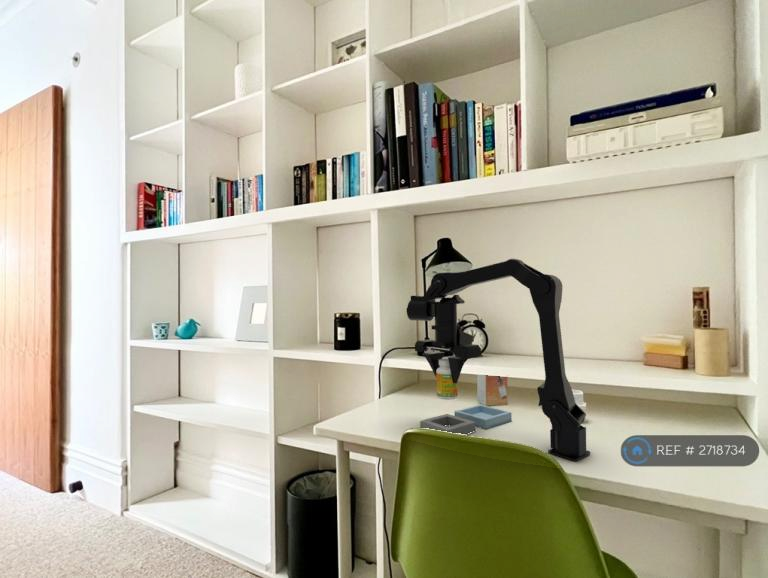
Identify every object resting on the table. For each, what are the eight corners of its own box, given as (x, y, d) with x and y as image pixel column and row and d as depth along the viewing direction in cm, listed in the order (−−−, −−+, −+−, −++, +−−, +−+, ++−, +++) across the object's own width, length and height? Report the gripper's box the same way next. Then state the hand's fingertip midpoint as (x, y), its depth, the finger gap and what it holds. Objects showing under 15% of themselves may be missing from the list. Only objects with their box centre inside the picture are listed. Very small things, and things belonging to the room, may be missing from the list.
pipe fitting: (559, 422, 117) (559, 393, 117) (562, 415, 123) (561, 387, 123) (585, 425, 114) (584, 395, 114) (586, 418, 120) (586, 389, 120)
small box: (485, 406, 134) (485, 373, 134) (477, 402, 139) (476, 370, 139) (508, 404, 136) (507, 371, 136) (499, 400, 141) (498, 368, 142)
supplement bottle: (440, 400, 108) (440, 361, 108) (433, 395, 113) (433, 358, 113) (460, 399, 109) (460, 360, 109) (453, 394, 114) (452, 357, 114)
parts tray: (511, 421, 118) (511, 412, 118) (485, 429, 112) (485, 419, 112) (480, 412, 127) (480, 404, 127) (454, 420, 120) (454, 411, 120)
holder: (475, 431, 110) (475, 422, 110) (448, 440, 104) (448, 430, 104) (447, 422, 118) (447, 413, 118) (420, 430, 112) (420, 420, 112)
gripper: (494, 321, 109) (496, 382, 109) (442, 318, 123) (443, 372, 123) (465, 323, 102) (466, 389, 102) (413, 320, 117) (414, 378, 116)
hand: (446, 381), depth 111 cm, fingers closed on supplement bottle, 5 cm apart
